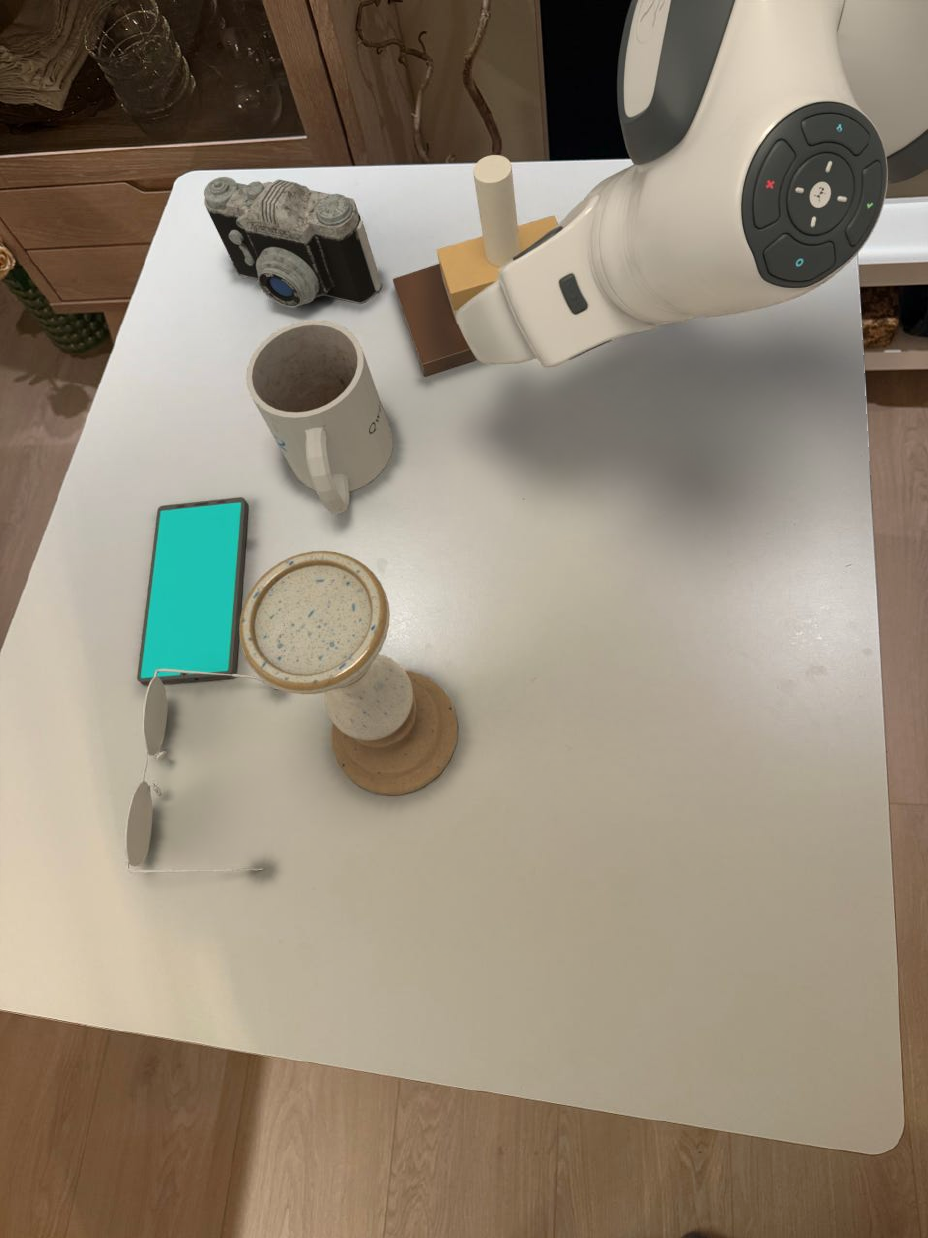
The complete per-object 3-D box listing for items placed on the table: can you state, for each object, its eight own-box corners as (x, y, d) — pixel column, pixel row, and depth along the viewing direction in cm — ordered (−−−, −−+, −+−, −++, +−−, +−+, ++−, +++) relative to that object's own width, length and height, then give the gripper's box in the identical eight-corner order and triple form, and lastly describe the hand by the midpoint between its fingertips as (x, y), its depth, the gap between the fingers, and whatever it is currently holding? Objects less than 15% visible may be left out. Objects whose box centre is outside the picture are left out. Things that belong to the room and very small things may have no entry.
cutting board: (590, 227, 79) (590, 212, 77) (631, 309, 75) (632, 295, 73) (395, 291, 79) (391, 277, 77) (425, 376, 75) (421, 363, 73)
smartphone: (245, 496, 71) (231, 674, 65) (248, 502, 72) (236, 678, 66) (156, 506, 72) (135, 682, 66) (161, 511, 73) (140, 686, 67)
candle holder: (473, 689, 63) (421, 555, 45) (437, 811, 60) (364, 720, 42) (358, 662, 65) (262, 523, 47) (317, 778, 62) (197, 677, 44)
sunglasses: (169, 686, 66) (149, 662, 62) (283, 687, 67) (272, 663, 62) (142, 880, 61) (118, 870, 56) (267, 881, 61) (253, 870, 56)
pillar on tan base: (556, 247, 76) (549, 126, 66) (573, 290, 74) (568, 171, 64) (443, 280, 76) (418, 164, 66) (456, 324, 74) (433, 211, 64)
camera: (213, 298, 82) (164, 208, 72) (247, 244, 84) (204, 150, 75) (356, 334, 78) (324, 243, 68) (389, 275, 80) (362, 181, 71)
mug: (298, 404, 75) (257, 321, 66) (398, 403, 74) (370, 318, 65) (274, 534, 70) (226, 463, 61) (380, 534, 69) (348, 462, 60)
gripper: (771, 108, 53) (659, 162, 66) (479, 281, 51) (422, 301, 63) (807, 212, 55) (692, 244, 68) (529, 382, 53) (465, 382, 66)
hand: (560, 273), depth 66 cm, fingers open, 8 cm apart
